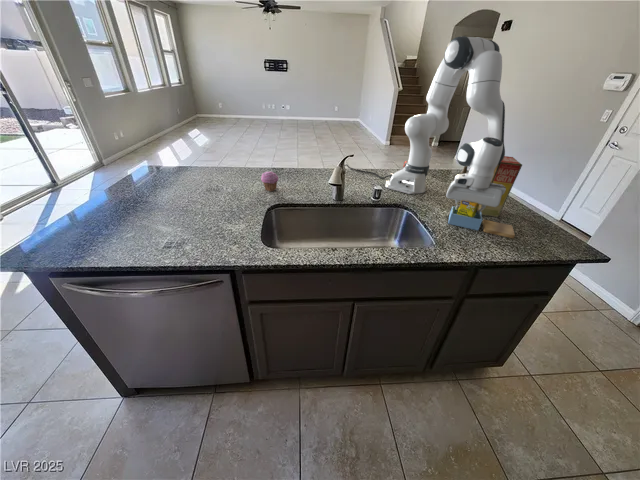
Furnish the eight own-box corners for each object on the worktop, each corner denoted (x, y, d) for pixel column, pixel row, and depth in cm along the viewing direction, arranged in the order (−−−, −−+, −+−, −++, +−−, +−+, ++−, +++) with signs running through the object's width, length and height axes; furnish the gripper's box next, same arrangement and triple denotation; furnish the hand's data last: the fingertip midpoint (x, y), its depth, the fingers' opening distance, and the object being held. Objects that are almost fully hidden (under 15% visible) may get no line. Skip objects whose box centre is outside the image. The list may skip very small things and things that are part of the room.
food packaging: (499, 217, 124) (523, 164, 111) (477, 214, 126) (498, 161, 113) (493, 206, 135) (514, 156, 122) (472, 203, 137) (491, 154, 124)
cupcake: (273, 194, 138) (272, 175, 133) (259, 191, 141) (257, 173, 136) (281, 188, 146) (280, 170, 140) (267, 186, 148) (266, 168, 143)
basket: (448, 223, 118) (451, 213, 115) (449, 215, 124) (452, 205, 122) (478, 230, 113) (482, 220, 111) (477, 221, 120) (481, 211, 118)
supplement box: (453, 222, 119) (461, 199, 113) (458, 218, 122) (466, 196, 117) (467, 227, 115) (476, 204, 109) (472, 222, 119) (480, 200, 113)
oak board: (483, 231, 112) (484, 228, 112) (482, 222, 120) (483, 219, 119) (513, 238, 109) (515, 235, 108) (510, 228, 116) (512, 225, 115)
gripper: (506, 182, 107) (493, 213, 115) (452, 174, 114) (443, 203, 122) (508, 187, 102) (494, 219, 110) (451, 178, 110) (442, 209, 117)
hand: (467, 211), depth 116 cm, fingers closed on supplement box, 7 cm apart
